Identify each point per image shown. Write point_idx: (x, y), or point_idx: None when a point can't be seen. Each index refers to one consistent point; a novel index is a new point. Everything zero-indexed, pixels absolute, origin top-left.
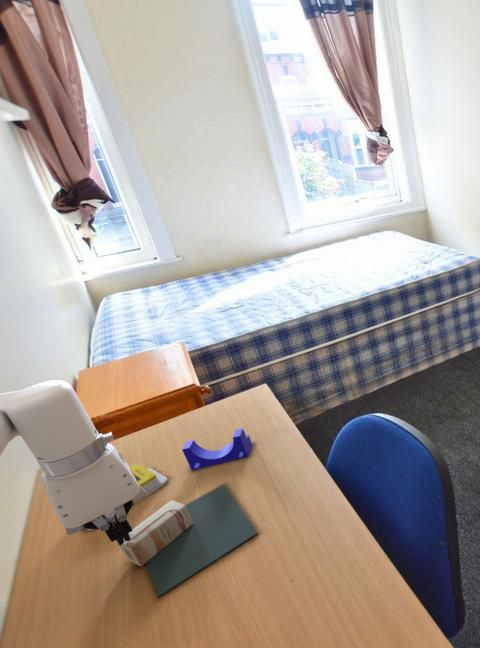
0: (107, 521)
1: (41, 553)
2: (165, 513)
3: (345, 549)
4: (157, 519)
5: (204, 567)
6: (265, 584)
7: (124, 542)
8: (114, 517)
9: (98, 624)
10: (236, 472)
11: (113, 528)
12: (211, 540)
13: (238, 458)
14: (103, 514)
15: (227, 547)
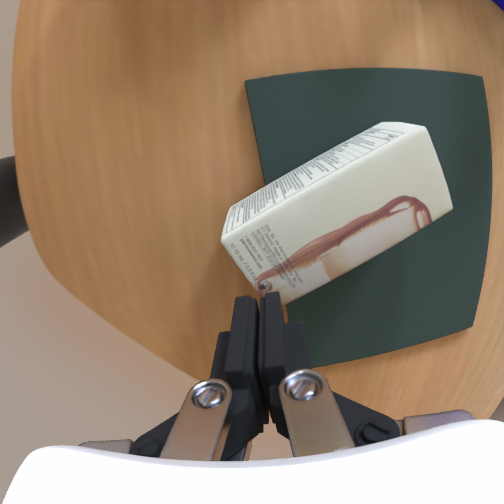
0: (244, 438)
1: (37, 28)
2: (398, 204)
3: (488, 401)
4: (369, 220)
5: (382, 352)
6: (419, 413)
7: (250, 272)
8: (272, 412)
9: (190, 353)
10: (499, 52)
11: (262, 430)
12: (420, 289)
13: (499, 5)
14: (226, 437)
15: (430, 331)
